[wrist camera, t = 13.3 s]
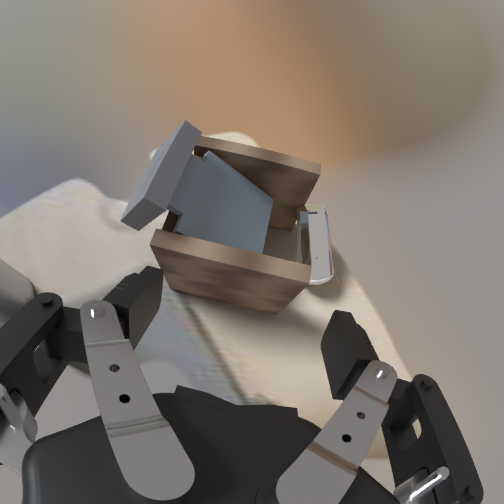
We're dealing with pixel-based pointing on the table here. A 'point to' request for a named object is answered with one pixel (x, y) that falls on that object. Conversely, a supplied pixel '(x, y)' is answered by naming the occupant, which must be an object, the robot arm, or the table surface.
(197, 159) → the trapdoor
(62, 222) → the table surface
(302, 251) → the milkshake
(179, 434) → the robot arm
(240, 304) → the stand
